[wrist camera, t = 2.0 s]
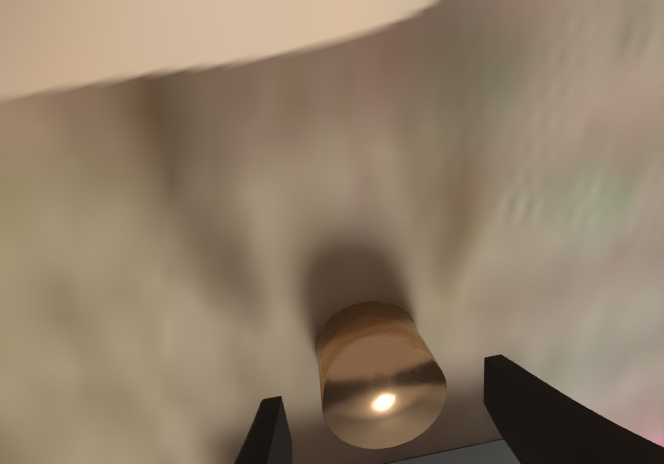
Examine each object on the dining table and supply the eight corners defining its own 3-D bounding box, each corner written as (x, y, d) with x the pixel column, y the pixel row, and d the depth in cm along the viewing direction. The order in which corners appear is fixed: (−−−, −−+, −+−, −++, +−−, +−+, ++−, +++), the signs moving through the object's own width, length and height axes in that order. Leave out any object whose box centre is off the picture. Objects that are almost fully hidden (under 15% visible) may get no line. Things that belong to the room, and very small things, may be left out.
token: (324, 395, 15) (331, 459, 12) (309, 311, 13) (313, 360, 11) (419, 377, 15) (448, 435, 12) (413, 292, 14) (445, 335, 11)
